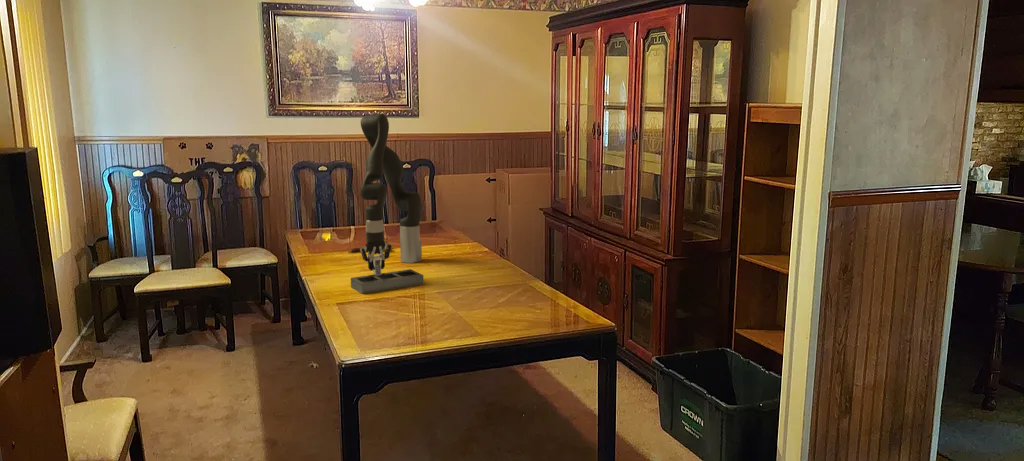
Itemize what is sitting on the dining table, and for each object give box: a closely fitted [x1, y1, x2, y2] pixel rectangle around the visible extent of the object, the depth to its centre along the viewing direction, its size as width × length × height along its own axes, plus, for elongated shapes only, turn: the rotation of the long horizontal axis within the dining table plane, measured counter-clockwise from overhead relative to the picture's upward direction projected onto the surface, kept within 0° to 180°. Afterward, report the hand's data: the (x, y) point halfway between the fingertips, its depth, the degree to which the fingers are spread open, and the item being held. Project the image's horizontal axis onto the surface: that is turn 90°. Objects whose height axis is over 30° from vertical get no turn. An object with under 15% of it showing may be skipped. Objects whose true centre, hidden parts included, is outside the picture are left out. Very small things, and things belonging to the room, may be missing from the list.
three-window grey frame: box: [350, 268, 424, 295], centre depth 289 cm, size 27×12×4 cm, turn 124°
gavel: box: [347, 240, 392, 254], centre depth 354 cm, size 21×5×10 cm
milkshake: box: [372, 254, 383, 275], centre depth 298 cm, size 4×5×10 cm
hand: (376, 269), depth 298 cm, fingers closed on milkshake, 4 cm apart
